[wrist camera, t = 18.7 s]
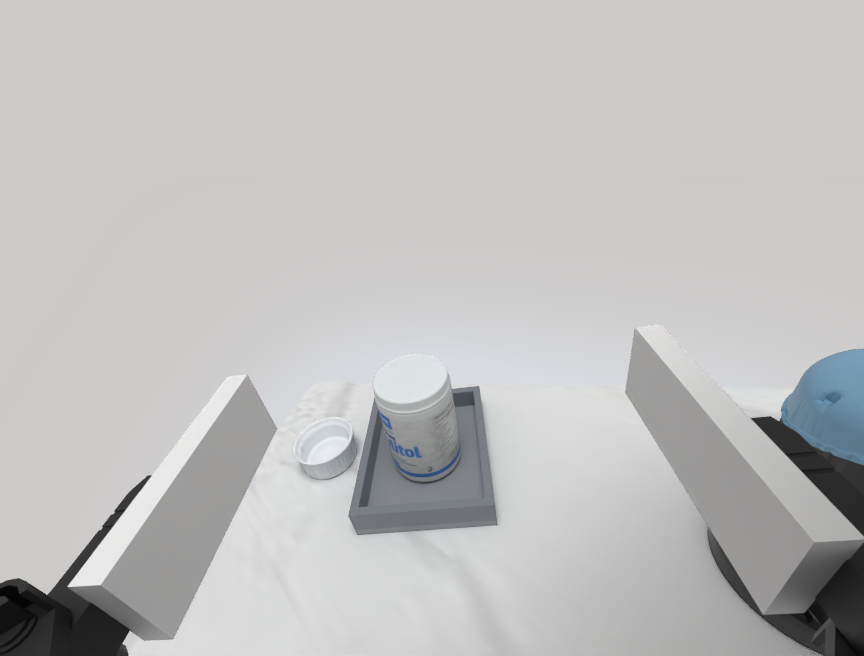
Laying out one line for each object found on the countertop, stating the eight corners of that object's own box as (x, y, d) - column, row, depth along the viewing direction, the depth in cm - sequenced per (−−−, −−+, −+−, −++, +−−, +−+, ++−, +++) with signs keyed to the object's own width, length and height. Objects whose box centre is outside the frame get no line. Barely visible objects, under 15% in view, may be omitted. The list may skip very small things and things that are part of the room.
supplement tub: (383, 474, 51) (354, 395, 43) (413, 423, 58) (393, 348, 50) (447, 494, 47) (428, 410, 39) (472, 437, 54) (459, 357, 46)
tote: (481, 404, 60) (479, 386, 58) (497, 525, 43) (494, 504, 41) (380, 415, 62) (374, 397, 60) (357, 534, 45) (348, 516, 43)
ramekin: (359, 429, 60) (352, 410, 58) (361, 474, 53) (352, 454, 51) (305, 443, 60) (296, 424, 57) (299, 491, 52) (288, 471, 50)
